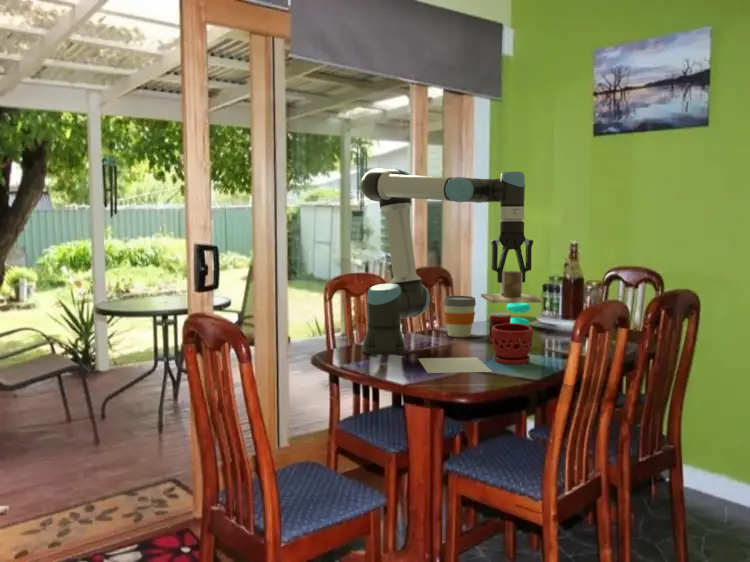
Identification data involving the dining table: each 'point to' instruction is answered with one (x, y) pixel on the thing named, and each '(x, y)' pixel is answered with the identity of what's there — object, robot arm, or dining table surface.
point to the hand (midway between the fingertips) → (511, 292)
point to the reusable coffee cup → (459, 315)
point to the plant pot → (512, 343)
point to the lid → (512, 291)
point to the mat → (453, 365)
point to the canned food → (497, 321)
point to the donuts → (518, 309)
